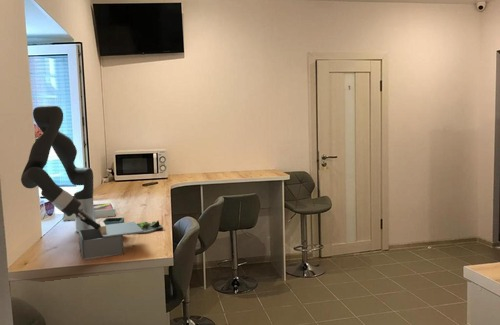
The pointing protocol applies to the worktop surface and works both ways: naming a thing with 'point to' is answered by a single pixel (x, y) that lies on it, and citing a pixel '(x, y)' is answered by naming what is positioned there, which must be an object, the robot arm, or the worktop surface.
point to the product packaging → (97, 211)
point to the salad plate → (149, 226)
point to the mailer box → (99, 244)
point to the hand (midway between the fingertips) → (98, 227)
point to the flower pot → (113, 221)
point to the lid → (119, 229)
